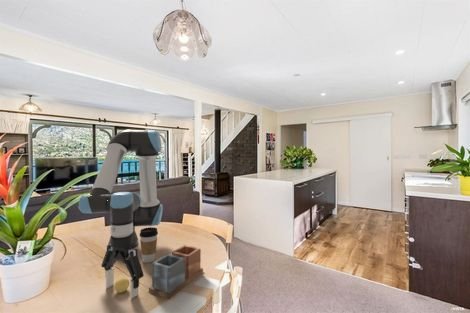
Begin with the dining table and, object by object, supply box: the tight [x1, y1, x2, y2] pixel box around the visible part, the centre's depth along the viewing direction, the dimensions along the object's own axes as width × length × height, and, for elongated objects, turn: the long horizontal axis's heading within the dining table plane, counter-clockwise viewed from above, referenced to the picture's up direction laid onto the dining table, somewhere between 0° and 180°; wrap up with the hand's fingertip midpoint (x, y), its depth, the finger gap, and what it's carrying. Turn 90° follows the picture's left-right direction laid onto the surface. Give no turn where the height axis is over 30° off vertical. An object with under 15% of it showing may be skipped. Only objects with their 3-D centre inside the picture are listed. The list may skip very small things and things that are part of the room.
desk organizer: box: [148, 244, 204, 300], centre depth 92 cm, size 10×21×10 cm, turn 154°
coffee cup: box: [139, 226, 159, 263], centre depth 110 cm, size 8×8×15 cm
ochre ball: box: [113, 276, 130, 294], centre depth 85 cm, size 5×5×5 cm
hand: (121, 291), depth 84 cm, fingers open, 13 cm apart
